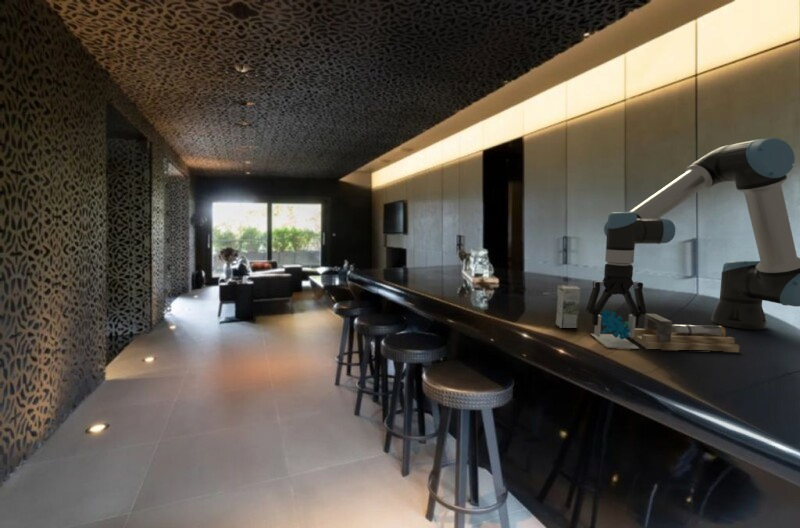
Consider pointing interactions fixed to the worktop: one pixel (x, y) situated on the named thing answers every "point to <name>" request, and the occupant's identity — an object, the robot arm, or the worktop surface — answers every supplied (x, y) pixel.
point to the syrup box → (567, 306)
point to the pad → (615, 341)
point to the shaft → (698, 330)
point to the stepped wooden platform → (678, 338)
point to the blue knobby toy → (614, 324)
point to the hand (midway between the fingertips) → (613, 335)
